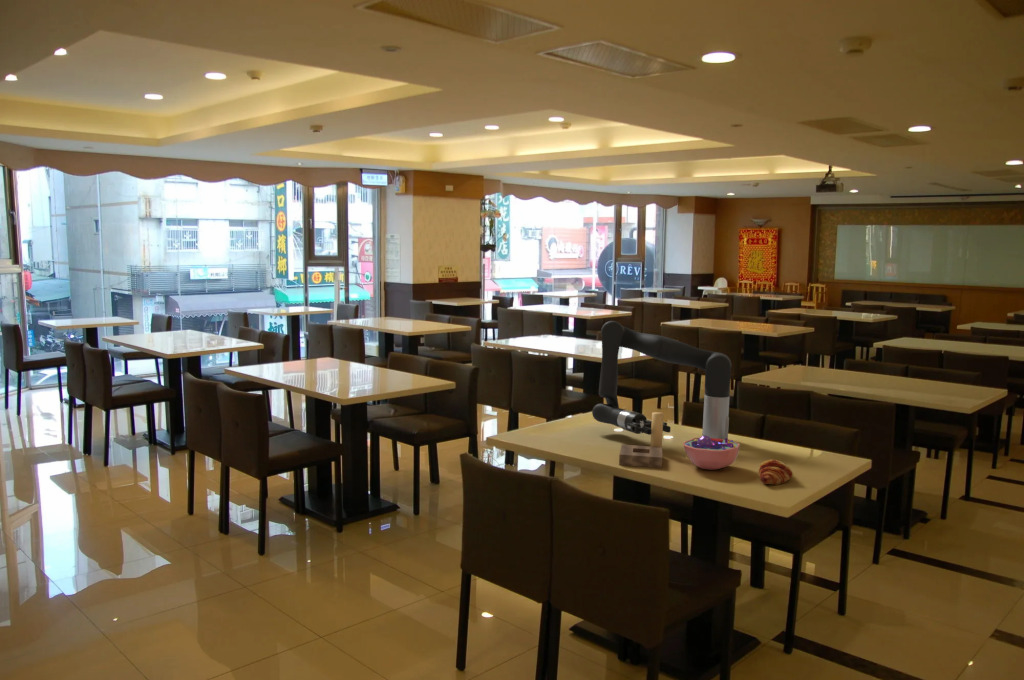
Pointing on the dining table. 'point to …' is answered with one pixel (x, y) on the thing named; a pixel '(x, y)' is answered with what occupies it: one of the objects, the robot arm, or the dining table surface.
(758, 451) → the dining table surface
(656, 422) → the peg
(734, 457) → the cell model
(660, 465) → the hole block
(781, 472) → the croissant
